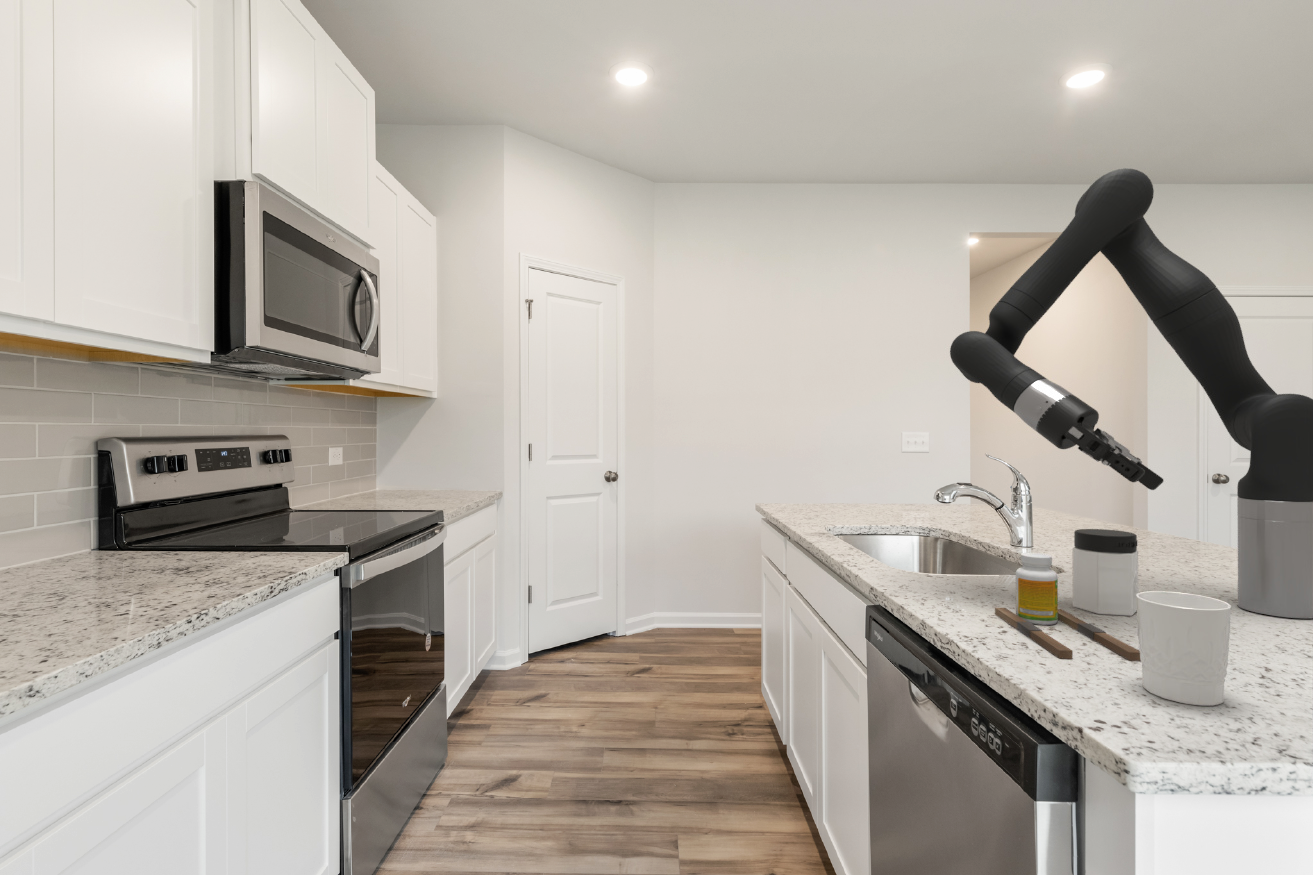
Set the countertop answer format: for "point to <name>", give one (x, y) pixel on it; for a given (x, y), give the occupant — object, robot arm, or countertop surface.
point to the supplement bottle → (1037, 590)
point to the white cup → (1183, 646)
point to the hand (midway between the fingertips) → (1149, 481)
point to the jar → (1105, 571)
